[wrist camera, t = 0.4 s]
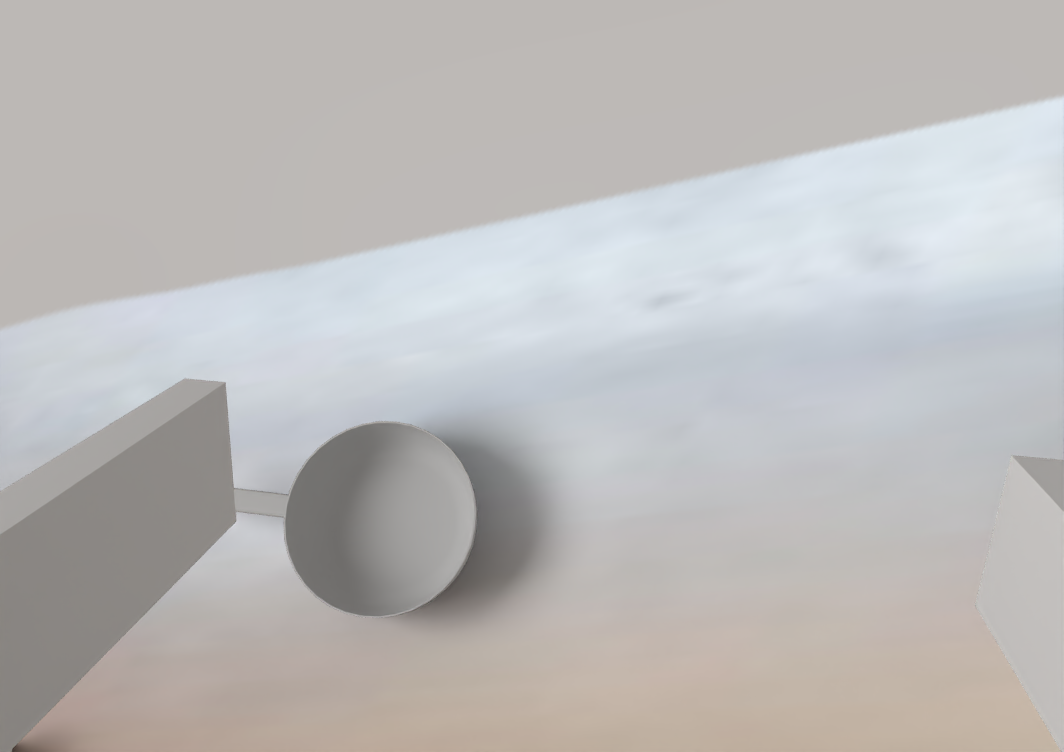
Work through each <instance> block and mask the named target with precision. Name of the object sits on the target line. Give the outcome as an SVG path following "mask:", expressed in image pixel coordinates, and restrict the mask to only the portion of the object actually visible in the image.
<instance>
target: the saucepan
mask: <svg viewBox="0 0 1064 752" xmlns="http://www.w3.org/2000/svg"><path fill="white" fill-rule="evenodd" d="M234 498H235V511H236V512H243V513H251V514H259V515H267V516H276V517H284V522H283V523H284V540H285V544H286V549H287V553H288V557H289V559H290V561H291V564H292V566H293V568H294V571H295V572H296V574H297V575H298V577H299V578H300V580H301V581H302V583H303V584H304V586H305V587H306V588H307V589H308V590H309V591H310V592H311V593H312V594H313V595H314V596H315V597H316V598H318V599H319V600H321V601H322V602H323V603H325V604H326V605H328V606H329V607H331V608H334V609H336V610H338V611H340V612H343V613H345V614H349V615H353V616H358V617H365V618H383V617H390V616H397V615H401V614H404V613H407V612H410V611H413V610H416V609H418V608H419V607H421V606H423V605H425V604H427V603H429V602H430V601H432V600H433V599H435V598H436V597H437V596H438V595H440V594H441V593H442V592H443V591H445V590H446V589H447V588H448V587H449V586H450V584H451V583H452V582H453V581H454V580H455V579H456V578H457V577H458V575H459V573H460V572H461V570H462V569H463V567H464V565H465V564H466V562H467V560H468V557H469V555H470V553H471V550H472V548H473V544H474V540H475V535H476V531H477V505H476V497H475V493H474V490H473V486H472V483H471V480H470V478H469V476H468V474H467V472H466V470H465V468H464V466H463V464H462V462H461V461H460V460H459V459H458V457H457V456H456V455H455V453H454V452H453V451H452V450H451V449H450V448H449V447H448V446H447V445H446V444H445V443H444V442H443V441H442V440H440V439H439V438H437V437H436V436H434V435H433V434H431V433H429V432H428V431H426V430H424V429H421V428H418V427H416V426H413V425H410V424H405V423H400V422H389V421H378V422H372V423H365V424H361V425H358V426H355V427H352V428H349V429H346V430H345V431H343V432H341V433H339V434H337V435H335V436H333V437H332V438H330V439H329V440H328V441H326V442H325V443H324V444H322V445H321V446H320V447H319V448H318V449H317V450H316V451H315V452H314V453H313V454H312V455H311V456H310V457H309V458H308V459H307V461H306V462H305V463H304V465H303V466H302V468H301V469H300V471H299V472H298V474H297V476H296V478H295V480H294V482H293V484H292V486H291V488H290V491H289V495H287V494H279V493H271V492H263V491H254V490H246V489H238V488H234Z"/></svg>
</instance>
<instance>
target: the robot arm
mask: <svg viewBox="0 0 1064 752" xmlns="http://www.w3.org/2000/svg"><path fill="white" fill-rule="evenodd" d="M235 522H236V511H235V498H234V485H233V473H232V460H231V447H230V434H229V421H228V409H227V396H226V383H225V382H216V381H205V380H194V379H183V380H182V381H180V382H178V383H177V384H175V385H173V386H172V387H170V388H169V389H167V390H165V391H164V392H162V393H160V394H159V395H157V396H156V397H154V398H152V399H151V400H149V401H147V402H146V403H144V404H142V405H141V406H139V407H138V408H136V409H134V410H133V411H131V412H129V413H128V414H126V415H124V416H123V417H121V418H120V419H118V420H116V421H115V422H113V423H111V424H110V425H108V426H106V427H105V428H103V429H102V430H100V431H98V432H97V433H95V434H93V435H92V436H90V437H88V438H87V439H85V440H84V441H82V442H80V443H79V444H77V445H75V446H74V447H72V448H70V449H69V450H67V451H66V452H64V453H62V454H61V455H59V456H57V457H56V458H54V459H52V460H51V461H49V462H48V463H46V464H44V465H43V466H41V467H39V468H38V469H36V470H34V471H33V472H31V473H30V474H28V475H26V476H25V477H23V478H21V479H20V480H18V481H16V482H15V483H13V484H12V485H10V486H8V487H7V488H5V489H3V490H2V491H0V752H10V751H11V750H12V749H13V748H14V747H15V746H16V745H17V744H18V742H19V741H20V740H21V739H22V738H23V737H24V736H25V735H26V734H27V733H28V732H29V731H30V730H31V729H32V728H33V727H34V726H35V725H36V724H37V723H38V722H39V721H40V720H41V719H42V718H43V717H44V716H45V715H46V714H47V713H48V712H49V711H50V710H51V709H52V708H53V707H54V706H55V705H56V704H57V703H58V702H59V701H60V700H61V699H62V698H63V697H64V696H65V695H66V694H67V693H68V692H69V691H70V690H71V689H72V688H73V687H74V686H75V685H76V684H77V683H78V682H79V681H80V680H81V679H82V678H83V676H84V675H85V674H86V673H87V672H88V671H89V670H90V669H91V668H92V667H93V666H94V665H95V664H96V663H97V662H98V661H99V660H100V659H101V658H102V657H103V656H104V655H105V654H106V653H107V652H108V651H109V650H110V649H111V648H112V647H113V646H114V645H115V644H116V643H117V642H118V641H119V640H120V639H121V638H122V637H123V636H124V635H125V634H126V633H127V632H128V631H129V630H130V629H131V628H132V627H133V626H134V625H135V624H136V623H137V622H138V621H139V620H140V619H141V618H142V617H143V616H144V615H145V614H146V613H147V611H148V610H149V609H150V608H151V607H152V606H153V605H154V604H155V603H156V602H157V601H158V600H159V599H160V598H161V597H162V596H163V595H164V594H165V593H166V592H167V591H168V590H169V589H170V588H171V587H172V586H173V585H174V584H175V583H176V582H177V581H178V580H179V579H180V578H181V577H182V576H183V575H184V574H185V573H186V572H187V571H188V570H189V569H190V568H191V567H192V566H193V565H194V564H195V563H196V562H197V561H198V560H199V559H200V558H201V557H202V556H203V555H204V554H205V553H206V552H207V551H208V550H209V549H210V548H211V547H212V545H213V544H214V543H215V542H216V541H217V540H218V539H219V538H220V537H221V536H222V535H223V534H224V533H225V532H226V531H227V530H228V529H229V528H230V527H231V526H232V525H233V524H234V523H235ZM975 606H976V608H977V610H978V611H979V613H980V615H981V616H982V618H983V620H984V622H985V623H986V625H987V627H988V628H989V630H990V632H991V633H992V635H993V637H994V638H995V640H996V642H997V644H998V645H999V647H1000V649H1001V650H1002V652H1003V654H1004V655H1005V657H1006V659H1007V661H1008V662H1009V664H1010V666H1011V667H1012V669H1013V671H1014V672H1015V674H1016V676H1017V677H1018V679H1019V681H1020V683H1021V684H1022V686H1023V688H1024V689H1025V691H1026V693H1027V694H1028V696H1029V698H1030V700H1031V701H1032V703H1033V705H1034V706H1035V708H1036V710H1037V711H1038V713H1039V715H1040V717H1041V718H1042V720H1043V722H1044V723H1045V725H1046V727H1047V728H1048V730H1049V732H1050V733H1051V735H1052V737H1053V739H1054V740H1055V742H1056V744H1057V745H1058V747H1059V749H1060V750H1061V752H1064V460H1057V459H1046V458H1035V457H1024V456H1014V455H1011V459H1010V463H1009V467H1008V471H1007V475H1006V480H1005V484H1004V488H1003V492H1002V496H1001V500H1000V504H999V508H998V513H997V517H996V521H995V525H994V529H993V533H992V537H991V541H990V546H989V550H988V554H987V558H986V562H985V566H984V570H983V574H982V579H981V583H980V587H979V591H978V595H977V599H976V603H975Z"/></svg>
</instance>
